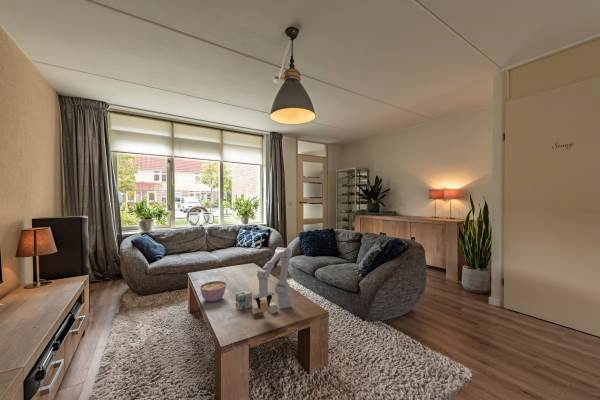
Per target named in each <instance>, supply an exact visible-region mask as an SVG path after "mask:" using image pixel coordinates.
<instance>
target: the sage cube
mask: <svg viewBox="0 0 600 400" xmlns="http://www.w3.org/2000/svg"><path fill="white" fill-rule="evenodd" d="M277 304H278V303H277V302H275V301H272V302H270V304H269V307H268V311H267V312H268V313H269V314H271V315H273V314H275V313H278V307H277Z"/></svg>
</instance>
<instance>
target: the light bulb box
mask: <svg viewBox="0 0 600 400" xmlns="http://www.w3.org/2000/svg"><path fill="white" fill-rule="evenodd" d="M252 307H253V292H252V291H251V290H250V289H248V290H242V291H239V292H235V308H236V309H237V310H238V311H242V310H245V309H248V308H252Z"/></svg>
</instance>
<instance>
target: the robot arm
mask: <svg viewBox="0 0 600 400" xmlns="http://www.w3.org/2000/svg"><path fill="white" fill-rule="evenodd" d="M290 257H291V250H290V248H288V247H280V246H277V247H276V249H275V250H274V254H273V256H272V257H271V259H270V260H269V261H266V263H265V264H264V265H263V267H262V268H261V269H258V271H257V274H256V276H257V280H258V293H257V294H254V295H252V301H253V300H255V302H256V305H257V308H258V309H260V302H261V298H265V297H266V300H267V302H268V307H269V304H270V303H271V301H272V299H273V296H274V295H275V293H276V295H277V303H276V304H277V310H281V309H282V310H283V309H288V308H291V307H292V305H291V302H292V301H291V299H292V298H291V293H290V291H291V290H290V284H289V283H288V281H287V280H288V270H289V261H290ZM279 259H281V265H280V274H279V281H277V282H276V284H275V289H274V291H275V292H274V291H269V289H268V288H269V286H268V283H269V281H268V280H269V279H268V278H269V277H270V274H271V271H273V269H274V267H275V263H276V262H277V261H278V260H279Z"/></svg>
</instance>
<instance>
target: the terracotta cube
mask: <svg viewBox="0 0 600 400" xmlns="http://www.w3.org/2000/svg"><path fill="white" fill-rule="evenodd" d="M260 300H261V299H260ZM260 312H264V313H265V312H268V302H267V299H263V300H261V302H260Z"/></svg>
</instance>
